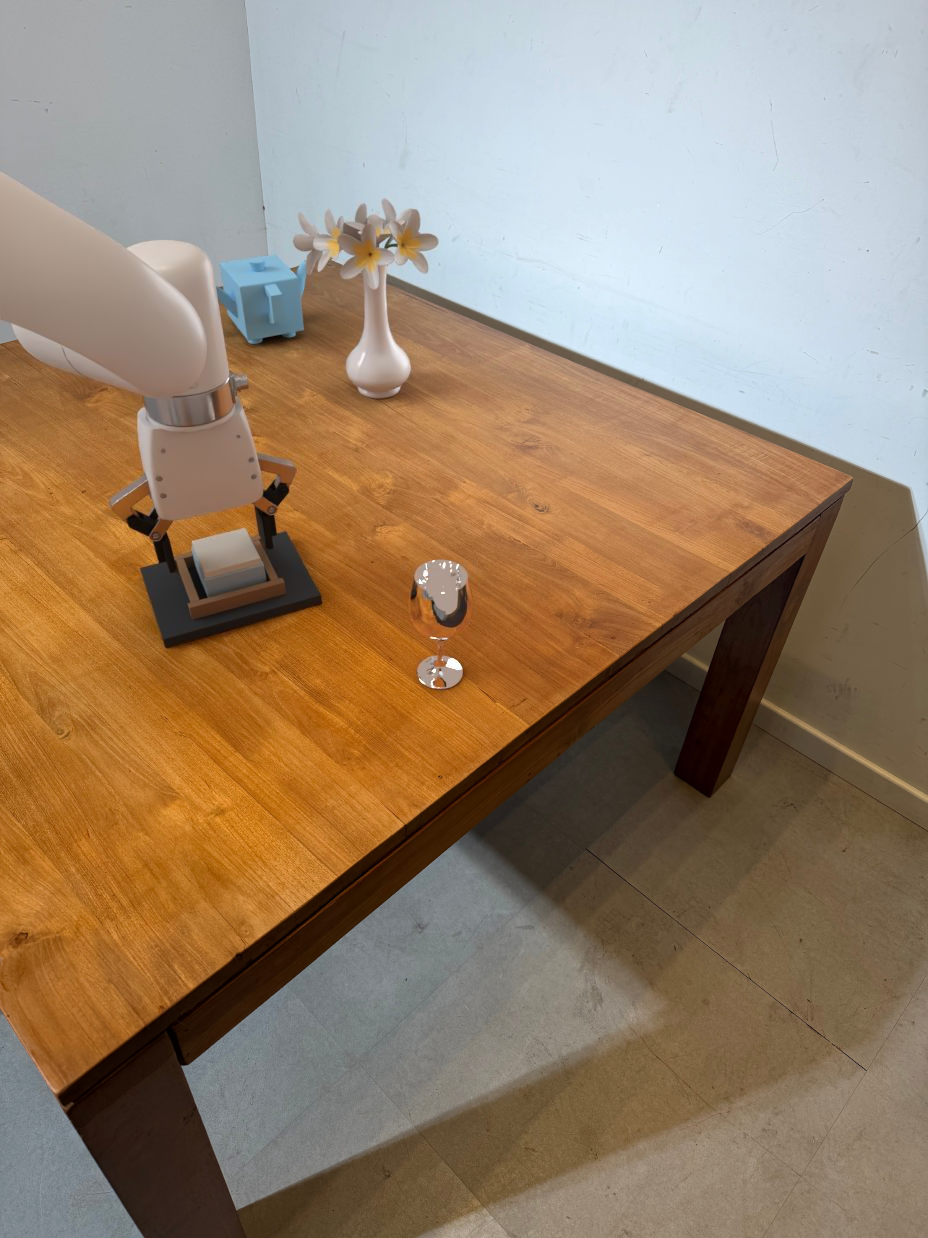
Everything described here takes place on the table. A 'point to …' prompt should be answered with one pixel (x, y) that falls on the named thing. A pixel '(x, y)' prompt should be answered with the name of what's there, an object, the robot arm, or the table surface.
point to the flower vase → (371, 284)
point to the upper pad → (227, 562)
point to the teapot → (263, 296)
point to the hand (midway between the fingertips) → (219, 553)
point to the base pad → (227, 594)
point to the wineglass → (440, 616)
